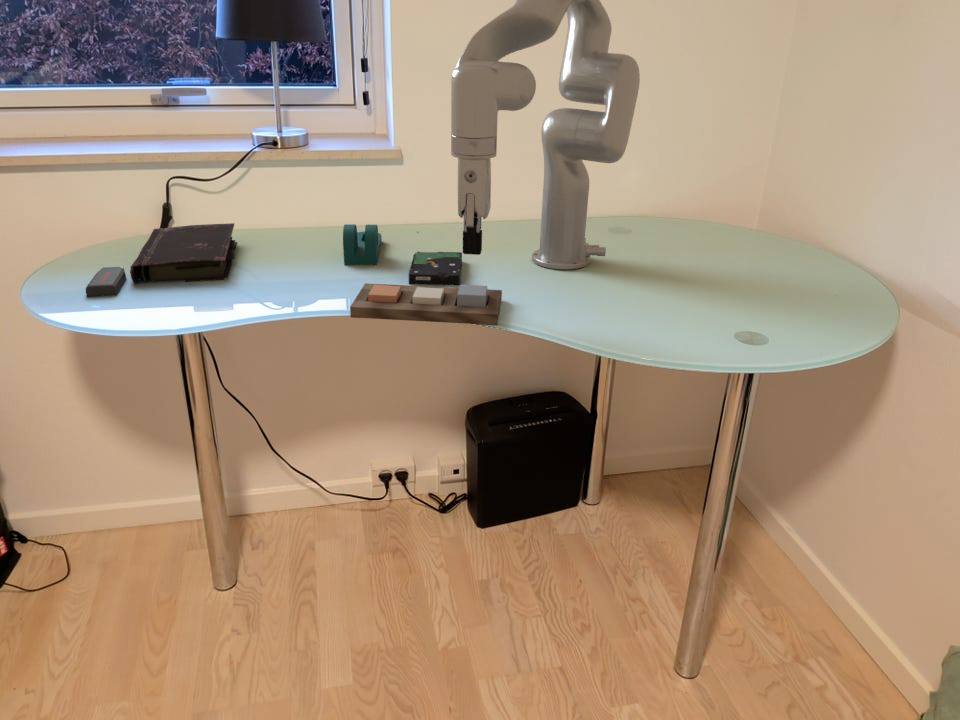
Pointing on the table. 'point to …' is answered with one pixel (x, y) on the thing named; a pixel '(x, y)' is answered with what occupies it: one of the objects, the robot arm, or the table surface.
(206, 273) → the diary
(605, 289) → the table surface
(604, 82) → the robot arm
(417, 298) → the white button
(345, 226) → the bracket
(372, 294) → the terracotta button
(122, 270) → the dark grey block
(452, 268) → the disk drive
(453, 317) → the panel
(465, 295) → the slate button
